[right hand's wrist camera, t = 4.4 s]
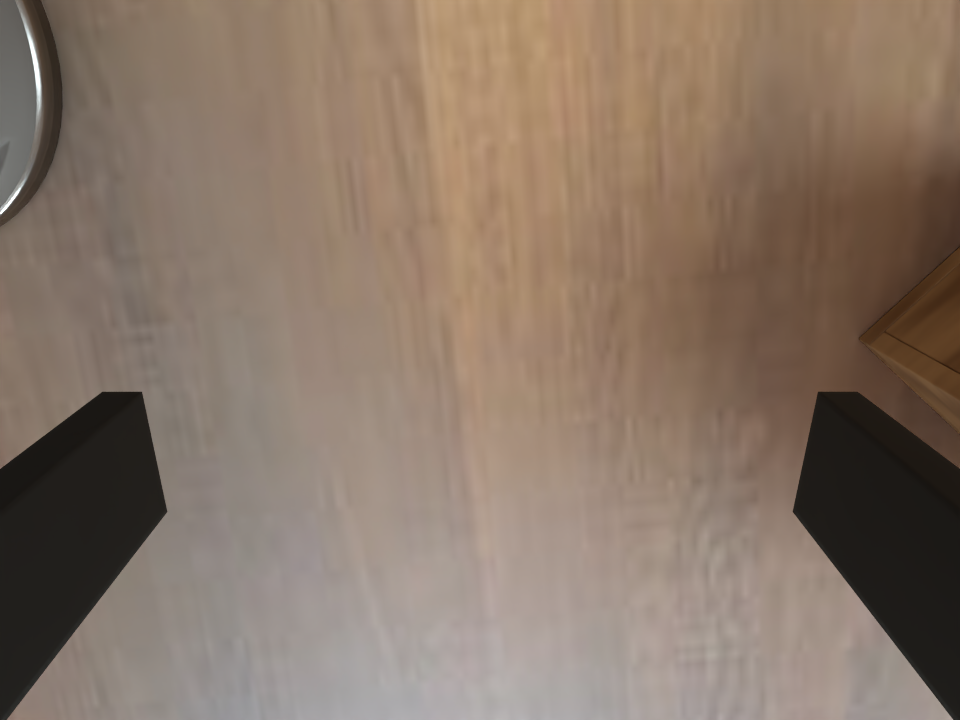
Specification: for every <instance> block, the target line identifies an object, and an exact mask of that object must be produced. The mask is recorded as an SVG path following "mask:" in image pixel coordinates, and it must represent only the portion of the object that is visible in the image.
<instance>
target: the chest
mask: <svg viewBox="0 0 960 720" xmlns="http://www.w3.org/2000/svg"><path fill="white" fill-rule="evenodd" d="M859 340H860V341H861V342H862V343H863V344H865V345H866V346H867V347H868V348H869V349H870V350H871V351H872V352H873V353H874V354H875V355H876V356H877V357H878V358H879V359H880V360H881V361H883V362H884V363H885V364H886V365H887V366H888V367H889V368H890V369H891V370H892V371H893V372H894V373H895V374H896V375H897V376H898V377H899V378H901V379H902V380H903V381H904V382H905V383H906V384H907V385H908V386H909V387H910V388H911V389H912V390H913V391H914V392H915V393H916V394H918V395H919V396H920V397H921V398H922V399H923V400H924V401H925V402H926V403H927V404H928V405H929V406H930V407H931V408H932V409H933V410H934V411H936V412H937V413H938V414H939V415H940V416H941V417H942V418H943V419H944V420H945V421H946V422H947V423H948V424H949V425H950V426H951V427H953V428H954V429H955V430H956V431H957V432H958V433H959V434H960V247H959V248H958V249H957V250H956V251H955V252H954V253H953V254H952V255H950V256H949V257H948V258H947V259H946V260H945V261H944V262H943V263H942V264H940V265H939V266H938V267H937V268H936V269H935V270H934V271H933V272H932V273H931V274H929V275H928V276H927V277H926V278H925V279H924V280H923V281H922V282H921V283H920V284H918V285H917V286H916V287H915V288H914V289H913V290H912V291H911V292H910V293H909V294H907V295H906V296H905V297H904V298H903V299H902V300H901V301H900V302H899V303H898V304H896V305H895V306H894V307H893V308H892V309H891V310H890V311H889V312H888V313H887V314H885V315H884V316H883V317H882V318H881V319H880V320H879V321H878V322H877V323H875V324H874V325H873V326H872V327H871V328H870V329H869V330H868V331H867V332H866V333H864V334H863V335H862V336H861V337H860V338H859Z"/></svg>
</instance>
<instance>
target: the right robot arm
mask: <svg viewBox="0 0 960 720" xmlns="http://www.w3.org/2000/svg"><path fill="white" fill-rule="evenodd" d="M61 117H62V82H61V73H60V65H59V60H58V55H57V50H56V45H55V41H54V38H53V34H52V31H51V27H50V24H49V21H48V18H47V16H46V13H45V10H44V8H43V5H42V2H41V0H0V226H2V225H3V224H5V223H6V222H7V221H9V220H10V219H11V218H12V217H14V216H15V215H16V214H17V213H18V212H19V211H20V210H21V209H22V208H23V207H24V206H25V205H26V204H27V203H28V202H29V201H30V199H31V198H32V197H33V195H34V194H35V193H36V191H37V190H38V188H39V187H40V185H41V183H42V181H43V180H44V178H45V176H46V174H47V172H48V169H49V167H50V165H51V163H52V160H53V157H54V153H55V150H56V147H57V143H58V138H59V133H60V127H61ZM166 513H167V508H166V504H165V499H164V494H163V490H162V485H161V480H160V475H159V471H158V466H157V461H156V456H155V452H154V447H153V442H152V437H151V433H150V428H149V423H148V419H147V414H146V409H145V404H144V400H143V395H142V392H102V393H100V394H99V395H98V396H96V397H95V398H94V399H92V400H91V401H90V402H88V403H87V404H86V405H84V406H83V407H82V408H80V409H79V410H78V411H76V412H75V413H74V414H72V415H71V416H70V417H68V418H67V419H66V420H65V421H63V422H62V423H61V424H59V425H58V426H57V427H55V428H54V429H53V430H51V431H50V432H49V433H47V434H46V435H45V436H43V437H42V438H41V439H39V440H38V441H37V442H35V443H34V444H33V445H31V446H30V447H29V448H27V449H26V450H25V451H23V452H22V453H21V454H19V455H18V456H17V457H15V458H14V459H13V460H12V461H10V462H9V463H8V464H6V465H5V466H4V467H2V468H1V469H0V720H7V718H8V717H9V716H10V715H11V713H12V712H13V711H14V709H15V708H16V707H17V706H18V704H19V703H20V702H21V700H22V699H23V698H24V696H25V695H26V694H27V693H28V691H29V690H30V689H31V687H32V686H33V685H34V684H35V682H36V681H37V680H38V678H39V677H40V676H41V674H42V673H43V672H44V671H45V669H46V668H47V667H48V665H49V664H50V663H51V662H52V660H53V659H54V658H55V656H56V655H57V654H58V652H59V651H60V650H61V649H62V647H63V646H64V645H65V643H66V642H67V641H68V640H69V638H70V637H71V636H72V634H73V633H74V632H75V630H76V629H77V628H78V627H79V625H80V624H81V623H82V621H83V620H84V619H85V618H86V616H87V615H88V614H89V612H90V611H91V610H92V608H93V607H94V606H95V605H96V603H97V602H98V601H99V599H100V598H101V597H102V596H103V594H104V593H105V592H106V590H107V589H108V588H109V586H110V585H111V584H112V583H113V581H114V580H115V579H116V577H117V576H118V575H119V574H120V572H121V571H122V570H123V568H124V567H125V566H126V564H127V563H128V562H129V561H130V559H131V558H132V557H133V555H134V554H135V553H136V552H137V550H138V549H139V548H140V546H141V545H142V544H143V542H144V541H145V540H146V539H147V537H148V536H149V535H150V533H151V532H152V531H153V530H154V528H155V527H156V526H157V524H158V523H159V522H160V520H161V519H162V518H163V517H164V515H165V514H166ZM793 513H794V514H795V515H796V517H797V518H798V519H799V520H800V522H801V523H802V524H803V526H804V527H805V528H806V530H807V531H808V532H809V533H810V535H811V536H812V537H813V539H814V540H815V541H816V542H817V544H818V545H819V546H820V548H821V549H822V550H823V552H824V553H825V554H826V555H827V557H828V558H829V559H830V561H831V562H832V563H833V564H834V566H835V567H836V568H837V570H838V571H839V572H840V574H841V575H842V576H843V577H844V579H845V580H846V581H847V583H848V584H849V585H850V586H851V588H852V589H853V590H854V592H855V593H856V594H857V596H858V597H859V598H860V599H861V601H862V602H863V603H864V605H865V606H866V607H867V608H868V610H869V611H870V612H871V614H872V615H873V616H874V618H875V619H876V620H877V621H878V623H879V624H880V625H881V627H882V628H883V629H884V630H885V632H886V633H887V634H888V636H889V637H890V638H891V640H892V641H893V642H894V643H895V645H896V646H897V647H898V649H899V650H900V651H901V652H902V654H903V655H904V656H905V658H906V659H907V660H908V662H909V663H910V664H911V665H912V667H913V668H914V669H915V671H916V672H917V673H918V674H919V676H920V677H921V678H922V680H923V681H924V682H925V684H926V685H927V686H928V687H929V689H930V690H931V691H932V693H933V694H934V695H935V696H936V698H937V699H938V700H939V702H940V703H941V704H942V706H943V707H944V708H945V709H946V711H947V712H948V713H949V715H950V716H951V717H952V718H953V720H960V469H959V468H958V467H956V466H955V465H954V464H952V463H951V462H950V461H948V460H947V459H946V458H945V457H943V456H942V455H941V454H939V453H938V452H937V451H935V450H934V449H933V448H931V447H930V446H929V445H927V444H926V443H925V442H923V441H922V440H921V439H919V438H918V437H917V436H915V435H914V434H913V433H911V432H910V431H909V430H907V429H906V428H905V427H903V426H902V425H901V424H899V423H898V422H897V421H895V420H894V419H893V418H892V417H890V416H889V415H888V414H886V413H885V412H884V411H882V410H881V409H880V408H878V407H877V406H876V405H874V404H873V403H872V402H870V401H869V400H868V399H866V398H865V397H864V396H862V395H861V394H860V393H858V392H818V395H817V400H816V404H815V409H814V414H813V418H812V423H811V428H810V433H809V437H808V442H807V447H806V452H805V456H804V461H803V466H802V471H801V475H800V480H799V485H798V490H797V494H796V499H795V504H794V508H793Z"/></svg>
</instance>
